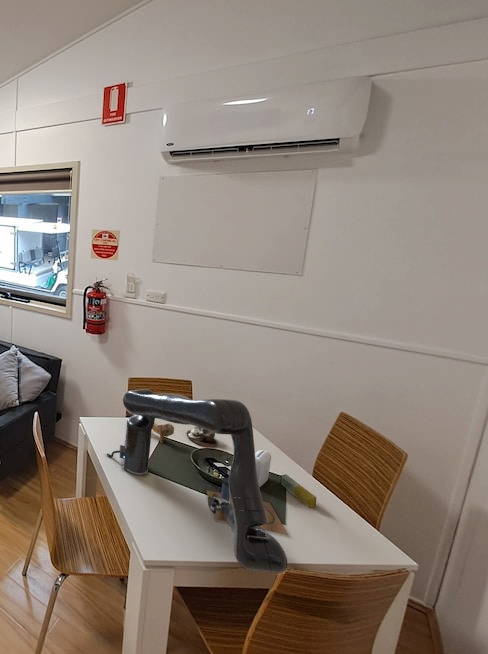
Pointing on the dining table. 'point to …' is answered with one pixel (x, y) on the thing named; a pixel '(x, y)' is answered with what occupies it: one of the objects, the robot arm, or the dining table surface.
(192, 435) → the skull
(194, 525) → the dining table surface
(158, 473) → the dining table surface
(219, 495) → the sketch board
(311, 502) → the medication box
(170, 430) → the lion figurine
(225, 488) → the marker
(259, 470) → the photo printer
